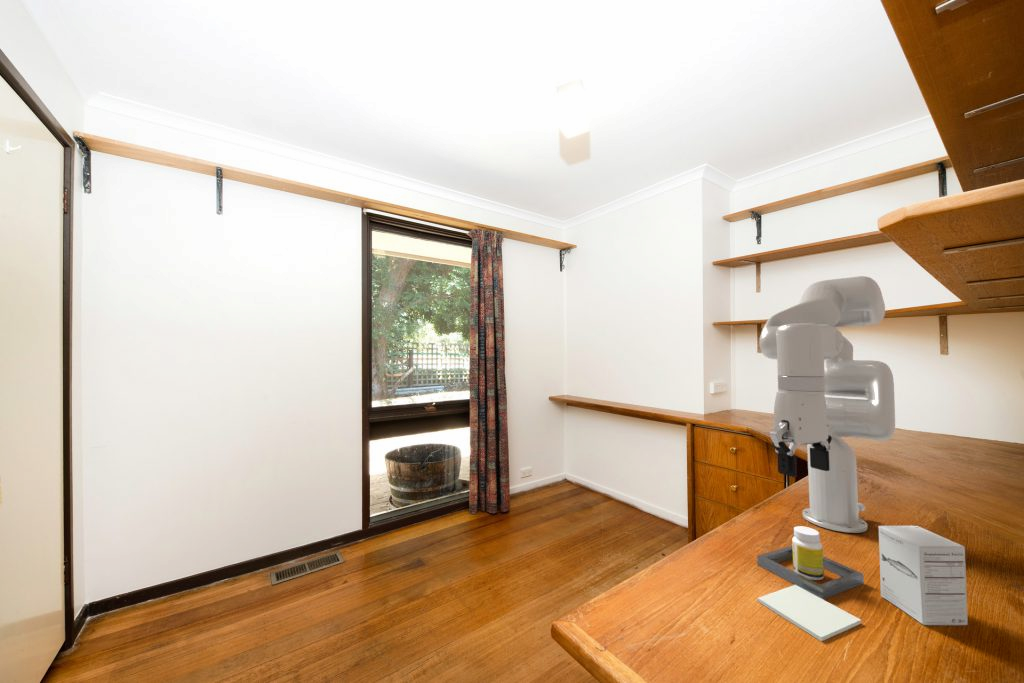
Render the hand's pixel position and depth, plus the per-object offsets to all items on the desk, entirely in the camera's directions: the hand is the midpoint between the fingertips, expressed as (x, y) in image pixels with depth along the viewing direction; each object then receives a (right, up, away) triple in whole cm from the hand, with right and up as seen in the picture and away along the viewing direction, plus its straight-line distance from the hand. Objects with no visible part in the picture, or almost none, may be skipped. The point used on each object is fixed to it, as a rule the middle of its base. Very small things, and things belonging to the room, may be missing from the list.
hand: (804, 472), depth 75 cm
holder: (0, -20, 0) cm, 20 cm away
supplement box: (+11, -20, -11) cm, 25 cm away
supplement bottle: (0, -20, 0) cm, 20 cm away
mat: (-8, -20, -11) cm, 24 cm away
